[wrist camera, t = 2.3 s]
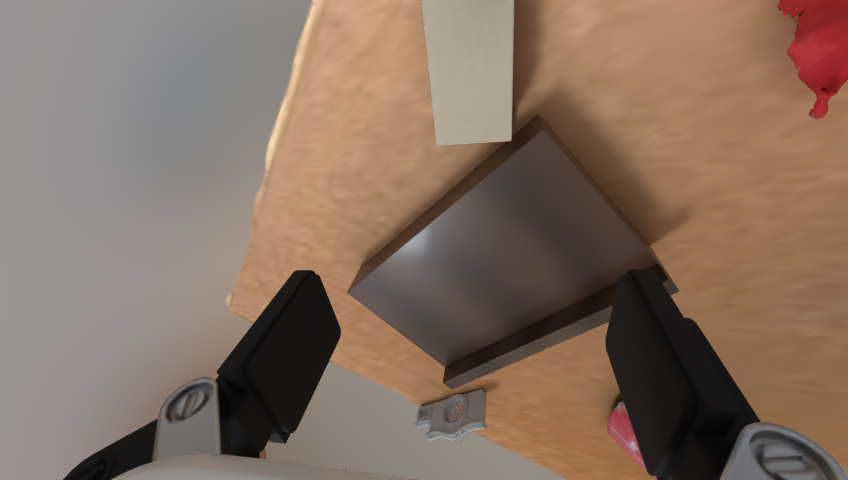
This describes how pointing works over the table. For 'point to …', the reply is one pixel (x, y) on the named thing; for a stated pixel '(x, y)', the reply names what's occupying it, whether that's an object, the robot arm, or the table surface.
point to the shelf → (507, 261)
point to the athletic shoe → (624, 433)
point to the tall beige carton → (470, 69)
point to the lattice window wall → (443, 411)
